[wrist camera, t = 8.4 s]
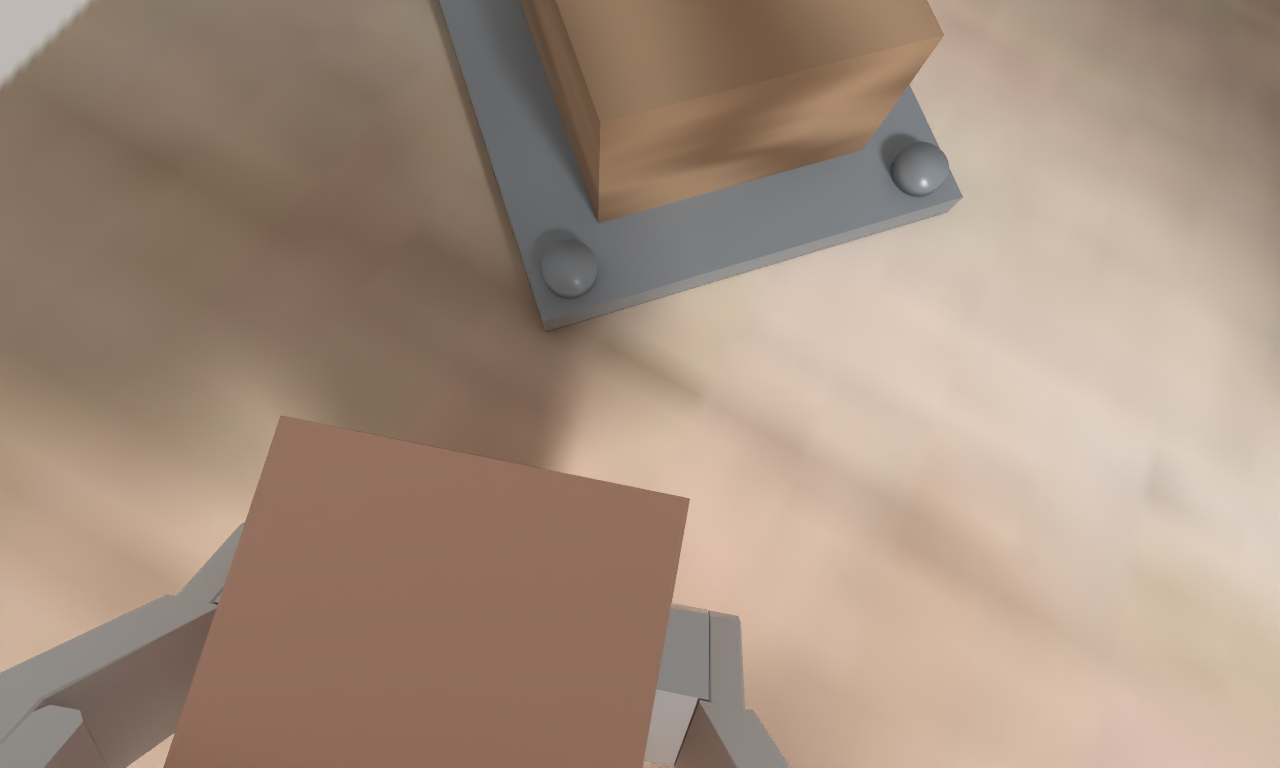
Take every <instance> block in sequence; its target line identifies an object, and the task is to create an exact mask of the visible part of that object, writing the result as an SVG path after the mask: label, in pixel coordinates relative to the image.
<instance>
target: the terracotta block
mask: <svg viewBox="0 0 1280 768" xmlns="http://www.w3.org/2000/svg"><path fill="white" fill-rule="evenodd" d="M689 500H690V499H689V498H684V497H679V496H674V495H669V494H665V493H660V492H655V491H650V490H645V489H640V488H635V487H630V486H625V485H620V484H615V483H610V482H605V481H600V480H595V479H591V478H586V477H581V476H576V475H571V474H566V473H561V472H556V471H551V470H546V469H541V468H536V467H531V466H526V465H521V464H516V463H512V462H507V461H502V460H497V459H492V458H487V457H482V456H477V455H472V454H467V453H462V452H457V451H452V450H447V449H442V448H438V447H433V446H428V445H423V444H418V443H413V442H408V441H403V440H398V439H393V438H388V437H383V436H378V435H373V434H368V433H364V432H359V431H354V430H349V429H344V428H339V427H334V426H329V425H324V424H319V423H314V422H309V421H304V420H299V419H294V418H289V417H285V416H281V417H280V420H279V423H278V426H277V429H276V432H275V435H274V438H273V441H272V444H271V447H270V450H269V453H268V456H267V459H266V462H265V465H264V468H263V471H262V474H261V477H260V480H259V483H258V486H257V489H256V492H255V495H254V498H253V501H252V504H251V507H250V510H249V513H248V516H247V519H246V522H245V525H244V528H243V531H242V534H241V537H240V540H239V543H238V546H237V549H236V552H235V555H234V558H233V561H232V564H231V567H230V570H229V573H228V576H227V579H226V582H225V585H224V588H223V591H222V594H221V597H220V600H219V603H218V606H217V609H216V612H215V615H214V618H213V621H212V624H211V627H210V630H209V633H208V636H207V639H206V642H205V645H204V648H203V651H202V654H201V657H200V660H199V663H198V666H197V669H196V672H195V675H194V678H193V681H192V684H191V687H190V690H189V693H188V696H187V699H186V702H185V705H184V708H183V711H182V714H181V717H180V719H179V722H178V725H177V728H176V731H175V734H174V737H173V740H172V743H171V746H170V749H169V752H168V755H167V758H166V761H165V764H164V767H163V768H643V762H644V757H645V751H646V745H647V739H648V734H649V728H650V722H651V717H652V711H653V705H654V700H655V694H656V688H657V682H658V677H659V671H660V665H661V660H662V654H663V648H664V643H665V637H666V631H667V626H668V620H669V614H670V608H671V603H672V597H673V591H674V586H675V580H676V574H677V569H678V563H679V557H680V551H681V546H682V540H683V534H684V529H685V523H686V517H687V512H688V506H689Z"/></svg>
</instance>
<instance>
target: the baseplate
mask: <svg viewBox="0 0 1280 768" xmlns="http://www.w3.org/2000/svg"><path fill="white" fill-rule="evenodd" d="M439 3H440V6H441V9H442V12H443V15H444V18H445V22H446V25H447V28H448V31H449V34H450V37H451V40H452V43H453V46H454V49H455V53H456V56H457V59H458V62H459V65H460V68H461V71H462V74H463V77H464V80H465V84H466V87H467V90H468V93H469V96H470V99H471V102H472V105H473V108H474V112H475V115H476V118H477V121H478V124H479V127H480V130H481V133H482V136H483V139H484V143H485V146H486V149H487V152H488V155H489V158H490V161H491V164H492V167H493V171H494V174H495V177H496V180H497V183H498V186H499V189H500V192H501V195H502V198H503V202H504V205H505V208H506V211H507V214H508V217H509V220H510V223H511V226H512V230H513V233H514V236H515V239H516V242H517V245H518V248H519V251H520V254H521V257H522V261H523V264H524V267H525V270H526V273H527V276H528V279H529V282H530V285H531V289H532V292H533V295H534V298H535V301H536V304H537V307H538V310H539V313H540V316H541V320H542V323H543V326H544V329H545V332H547V331H550V330H553V329H557V328H560V327H563V326H567V325H570V324H573V323H577V322H580V321H584V320H587V319H590V318H594V317H597V316H600V315H604V314H607V313H610V312H614V311H617V310H620V309H624V308H627V307H630V306H634V305H637V304H641V303H644V302H647V301H651V300H654V299H657V298H661V297H664V296H667V295H671V294H674V293H677V292H681V291H684V290H688V289H691V288H694V287H698V286H701V285H704V284H708V283H711V282H714V281H718V280H721V279H724V278H728V277H731V276H734V275H738V274H741V273H745V272H748V271H751V270H755V269H758V268H761V267H765V266H768V265H771V264H775V263H778V262H781V261H785V260H788V259H792V258H795V257H798V256H802V255H805V254H808V253H812V252H815V251H818V250H822V249H825V248H828V247H832V246H835V245H838V244H842V243H845V242H849V241H852V240H855V239H859V238H862V237H865V236H869V235H872V234H875V233H879V232H882V231H885V230H889V229H892V228H896V227H899V226H902V225H906V224H909V223H912V222H916V221H919V220H922V219H926V218H929V217H932V216H936V215H939V214H942V213H946V212H947V211H949V210H950V209H951V208H952V207H953V206H954V205H955V204H956V203H957V202H958V201H960V200H961V199H962V198H963V196H962V194H961V192H960V190H959V188H958V186H957V184H956V181H955V179H954V177H953V175H952V173H951V171H950V169H949V164H948V160H947V158H946V156H945V154H944V153H943V152H942V151H941V150H940V148H939V146H938V144H937V142H936V140H935V137H934V135H933V133H932V131H931V129H930V127H929V125H928V123H927V121H926V119H925V117H924V114H923V112H922V110H921V108H920V106H919V104H918V102H917V100H916V98H915V96H914V93H913V91H912V89H911V87H910V85H908V87H907V88H906V90H905V91H904V93H903V94H902V95H901V97H900V98H899V100H898V101H897V103H896V104H895V105H894V107H893V108H892V110H891V111H890V113H889V114H888V115H887V117H886V118H885V120H884V121H883V123H882V124H881V125H880V127H879V128H878V130H877V131H876V132H875V134H874V135H873V137H872V138H871V140H870V141H869V142H868V144H867V145H866V147H865V148H864V150H861V151H857V152H854V153H850V154H847V155H843V156H839V157H836V158H832V159H829V160H825V161H821V162H818V163H814V164H811V165H807V166H803V167H800V168H796V169H793V170H789V171H785V172H782V173H778V174H775V175H771V176H767V177H764V178H760V179H757V180H753V181H749V182H746V183H742V184H739V185H735V186H731V187H728V188H724V189H721V190H717V191H713V192H710V193H706V194H703V195H699V196H695V197H692V198H688V199H684V200H681V201H677V202H674V203H670V204H666V205H663V206H659V207H656V208H652V209H648V210H645V211H641V212H638V213H634V214H630V215H627V216H623V217H620V218H616V219H612V220H609V221H605V222H602V223H598V221H597V218H596V216H595V213H594V210H593V207H592V204H591V201H590V199H589V196H588V193H587V190H586V187H585V184H584V181H583V179H582V176H581V173H580V170H579V167H578V164H577V162H576V159H575V156H574V153H573V150H572V147H571V144H570V142H569V139H568V136H567V133H566V130H565V127H564V125H563V122H562V119H561V116H560V113H559V110H558V107H557V105H556V102H555V99H554V96H553V93H552V90H551V88H550V85H549V82H548V79H547V76H546V73H545V70H544V68H543V65H542V62H541V59H540V56H539V53H538V51H537V48H536V45H535V42H534V39H533V36H532V33H531V31H530V28H529V25H528V22H527V19H526V16H525V14H524V11H523V8H522V5H521V2H520V0H439Z"/></svg>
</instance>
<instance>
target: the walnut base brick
mask: <svg viewBox="0 0 1280 768" xmlns="http://www.w3.org/2000/svg"><path fill="white" fill-rule="evenodd" d="M520 2H521V5H522V8H523V11H524V14H525V16H526V19H527V22H528V25H529V28H530V31H531V33H532V36H533V39H534V42H535V45H536V48H537V51H538V53H539V56H540V59H541V62H542V65H543V68H544V70H545V73H546V76H547V79H548V82H549V85H550V88H551V90H552V93H553V96H554V99H555V102H556V105H557V107H558V110H559V113H560V116H561V119H562V122H563V125H564V127H565V130H566V133H567V136H568V139H569V142H570V144H571V147H572V150H573V153H574V156H575V159H576V162H577V164H578V167H579V170H580V173H581V176H582V179H583V181H584V184H585V187H586V190H587V193H588V196H589V199H590V201H591V204H592V207H593V210H594V213H595V216H596V218H597V221H598V223H602V222H605V221H609V220H612V219H616V218H620V217H623V216H627V215H630V214H634V213H638V212H641V211H645V210H648V209H652V208H656V207H659V206H663V205H666V204H670V203H674V202H677V201H681V200H684V199H688V198H692V197H695V196H699V195H703V194H706V193H710V192H713V191H717V190H721V189H724V188H728V187H731V186H735V185H739V184H742V183H746V182H749V181H753V180H757V179H760V178H764V177H767V176H771V175H775V174H778V173H782V172H785V171H789V170H793V169H796V168H800V167H803V166H807V165H811V164H814V163H818V162H821V161H825V160H829V159H832V158H836V157H839V156H843V155H847V154H850V153H854V152H857V151H861V150H864V148H865V147H866V145H867V144H868V142H869V141H870V140H871V138H872V137H873V135H874V134H875V132H876V131H877V130H878V128H879V127H880V125H881V124H882V123H883V121H884V120H885V118H886V117H887V115H888V114H889V113H890V111H891V110H892V108H893V107H894V105H895V104H896V103H897V101H898V100H899V98H900V97H901V95H902V94H903V93H904V91H905V90H906V88H907V87H908V85H909V84H910V83H911V81H912V80H913V78H914V77H915V75H916V74H917V73H918V71H919V70H920V68H921V67H922V66H923V64H924V63H925V61H926V60H927V58H928V57H929V56H930V54H931V53H932V51H933V50H934V48H935V47H936V46H937V44H938V43H939V41H940V40H941V38H942V37H943V36H944V34H943V32H942V30H941V28H940V26H939V24H938V22H937V20H936V18H935V16H934V14H933V12H932V10H931V8H930V6H929V4H928V2H927V0H520Z"/></svg>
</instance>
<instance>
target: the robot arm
mask: <svg viewBox="0 0 1280 768" xmlns="http://www.w3.org/2000/svg"><path fill="white" fill-rule="evenodd" d="M244 525H245V522H244V523H242V524H241V525H240V526H239V527H238V528H237V529H236V530H235V531H234V532H233V533H232V534H231V536H230V537H229V538H228V539H227V540H226V541H225V542H224V543H223V544H222V546H221V547H220V548H219V549H218V550H217V551H216V552H215V553H214V555H213V556H212V557H211V558H210V559H209V560H208V561H207V562H206V563H205V565H204V566H203V567H202V568H201V569H200V570H199V571H198V572H197V574H196V575H195V576H194V577H193V578H192V579H191V580H190V581H189V582H188V584H187V585H186V586H185V587H184V588H183V589H182V590H181V591H180V593H179V594H178V595H177V596H173V595H165V596H163V597H160V598H158V599H156V600H154V601H152V602H150V603H148V604H146V605H143V606H141V607H139V608H137V609H135V610H133V611H131V612H129V613H127V614H124V615H122V616H120V617H118V618H116V619H114V620H112V621H110V622H107V623H105V624H103V625H101V626H99V627H97V628H95V629H93V630H91V631H88V632H86V633H84V634H82V635H80V636H78V637H76V638H74V639H71V640H69V641H67V642H65V643H63V644H61V645H59V646H57V647H54V648H52V649H50V650H48V651H46V652H44V653H42V654H40V655H38V656H35V657H33V658H31V659H29V660H27V661H25V662H23V663H21V664H18V665H16V666H14V667H12V668H10V669H8V670H6V671H4V672H2V673H0V768H126V767H127V766H129V765H130V764H131V763H133V762H134V761H136V760H137V759H138V758H140V757H141V756H143V755H144V754H145V753H147V752H148V751H150V750H151V749H152V748H154V747H155V746H157V745H158V744H159V743H161V742H162V741H164V740H165V739H166V738H168V737H169V736H171V735H172V734H173V733H175V731H176V728H177V725H178V722H179V719H180V717H181V714H182V711H183V708H184V705H185V702H186V699H187V696H188V693H189V690H190V687H191V684H192V681H193V678H194V675H195V672H196V669H197V666H198V663H199V660H200V657H201V654H202V651H203V648H204V645H205V642H206V639H207V636H208V633H209V630H210V627H211V624H212V621H213V618H214V615H215V612H216V609H217V606H218V603H219V600H220V597H221V594H222V591H223V588H224V585H225V582H226V579H227V576H228V573H229V570H230V567H231V564H232V561H233V558H234V555H235V552H236V549H237V546H238V543H239V540H240V537H241V534H242V531H243V528H244ZM644 761H647V762H651V763H656V764H660V765H664V766H669V767H673V768H790V767H789V765H788V763H787V762H786V760H785V759H784V757H783V756H782V754H781V752H780V751H779V749H778V748H777V746H776V745H775V743H774V741H773V740H772V738H771V737H770V735H769V734H768V732H767V731H766V729H765V727H764V726H763V724H762V723H761V721H760V720H759V718H758V716H757V715H756V713H755V712H754V711H752V710H748V709H745V700H744V679H743V657H742V636H741V621H740V619H739V617H738V616H734V615H729V614H724V613H719V612H714V611H707V610H706V609H701V608H696V607H690V606H685V605H680V604H674V603H671V608H670V614H669V620H668V626H667V631H666V637H665V643H664V648H663V654H662V660H661V665H660V671H659V677H658V682H657V688H656V694H655V700H654V705H653V711H652V717H651V722H650V728H649V734H648V739H647V745H646V751H645V757H644Z"/></svg>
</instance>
